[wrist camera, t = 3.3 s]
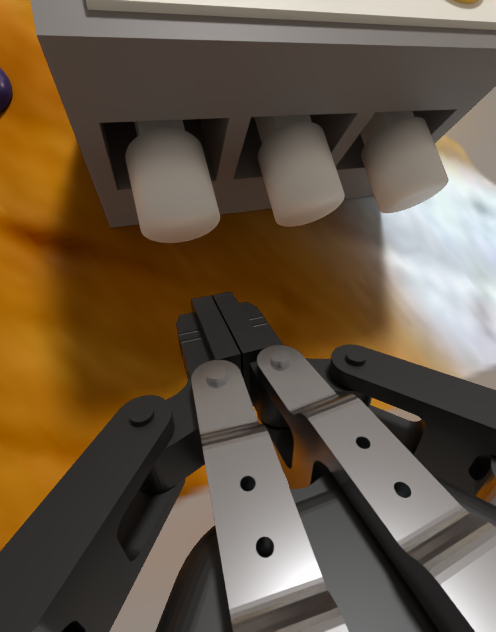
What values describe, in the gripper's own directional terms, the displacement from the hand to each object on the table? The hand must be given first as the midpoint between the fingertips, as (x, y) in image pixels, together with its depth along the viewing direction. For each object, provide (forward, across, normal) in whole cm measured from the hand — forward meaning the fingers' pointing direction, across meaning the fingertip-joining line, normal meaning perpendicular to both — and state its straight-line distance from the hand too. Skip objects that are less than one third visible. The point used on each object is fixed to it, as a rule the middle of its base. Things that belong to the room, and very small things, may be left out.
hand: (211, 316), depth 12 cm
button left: (+8, 0, -3) cm, 9 cm away
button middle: (+8, -6, -3) cm, 11 cm away
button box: (+15, -6, -4) cm, 16 cm away
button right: (+8, -13, -3) cm, 16 cm away
